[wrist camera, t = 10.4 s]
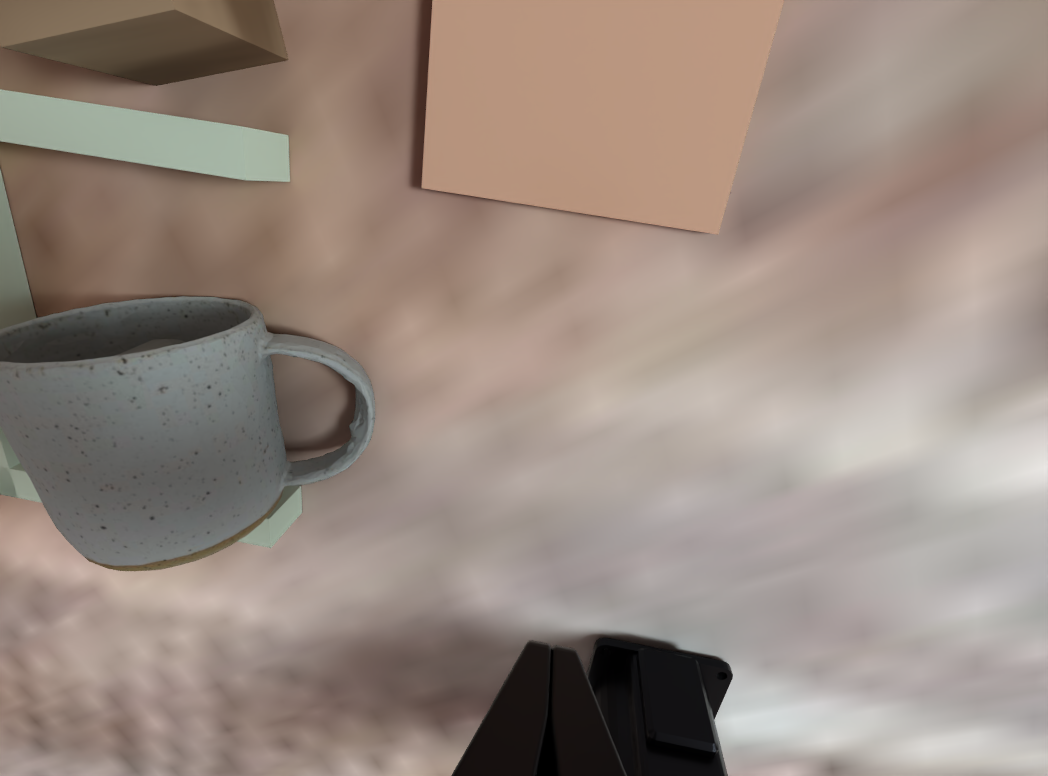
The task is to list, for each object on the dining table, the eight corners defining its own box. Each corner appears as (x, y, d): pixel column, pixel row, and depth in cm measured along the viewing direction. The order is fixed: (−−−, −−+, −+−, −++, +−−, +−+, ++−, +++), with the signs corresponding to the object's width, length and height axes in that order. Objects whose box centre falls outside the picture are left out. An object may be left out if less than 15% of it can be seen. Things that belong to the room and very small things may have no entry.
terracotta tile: (713, 233, 17) (718, 234, 16) (426, 188, 17) (421, 188, 17) (823, -162, 13) (834, -178, 12) (451, -205, 13) (445, -222, 13)
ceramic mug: (175, 468, 23) (-2, 591, 16) (121, 293, 20) (-126, 350, 13) (395, 478, 22) (311, 613, 15) (374, 296, 19) (256, 358, 12)
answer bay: (302, 512, 23) (270, 547, 21) (44, 462, 24) (-15, 491, 22) (288, 135, 17) (242, 126, 15) (-59, 82, 18) (-154, 66, 15)
